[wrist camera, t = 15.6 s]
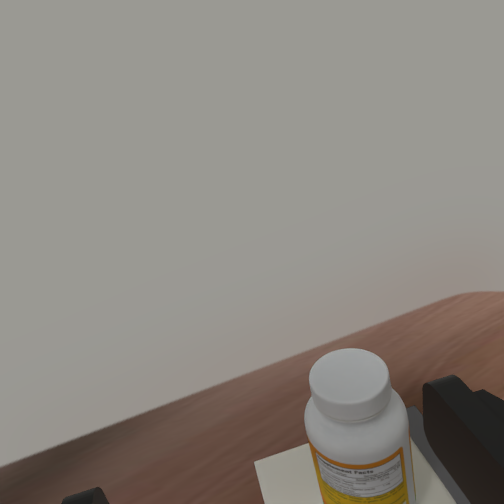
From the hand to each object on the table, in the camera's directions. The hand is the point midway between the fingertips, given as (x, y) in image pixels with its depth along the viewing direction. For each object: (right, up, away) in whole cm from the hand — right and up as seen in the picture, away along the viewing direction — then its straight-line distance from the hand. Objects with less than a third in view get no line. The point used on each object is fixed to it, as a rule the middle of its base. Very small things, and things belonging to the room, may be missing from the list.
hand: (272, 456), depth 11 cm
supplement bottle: (+7, -10, +16) cm, 20 cm away
